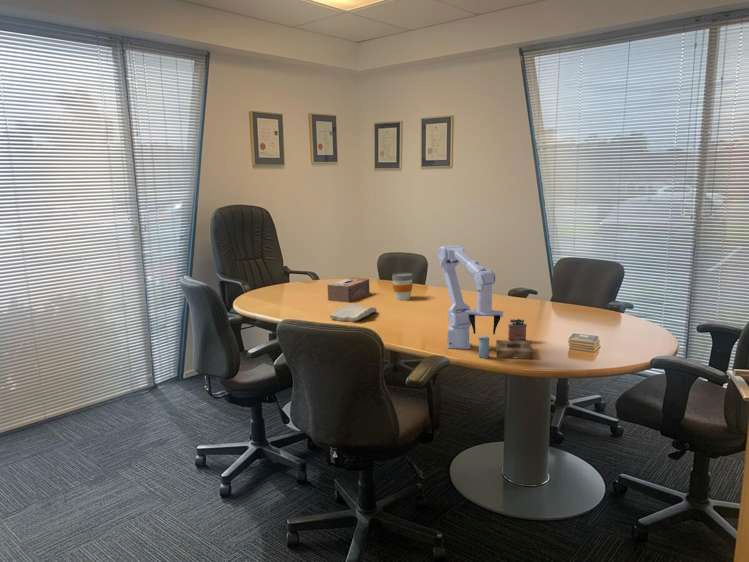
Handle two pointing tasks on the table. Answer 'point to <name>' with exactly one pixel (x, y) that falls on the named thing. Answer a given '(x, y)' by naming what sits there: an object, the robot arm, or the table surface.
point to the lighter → (517, 330)
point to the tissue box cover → (348, 289)
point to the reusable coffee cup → (402, 285)
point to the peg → (484, 347)
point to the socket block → (514, 349)
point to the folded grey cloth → (351, 312)
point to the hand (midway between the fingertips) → (484, 333)
